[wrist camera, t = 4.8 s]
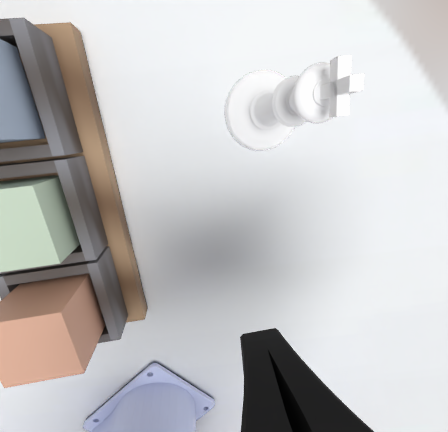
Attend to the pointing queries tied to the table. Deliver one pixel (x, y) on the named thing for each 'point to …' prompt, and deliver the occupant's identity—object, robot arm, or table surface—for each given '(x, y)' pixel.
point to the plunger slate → (16, 100)
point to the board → (73, 171)
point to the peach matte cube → (48, 330)
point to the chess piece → (288, 101)
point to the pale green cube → (34, 223)
